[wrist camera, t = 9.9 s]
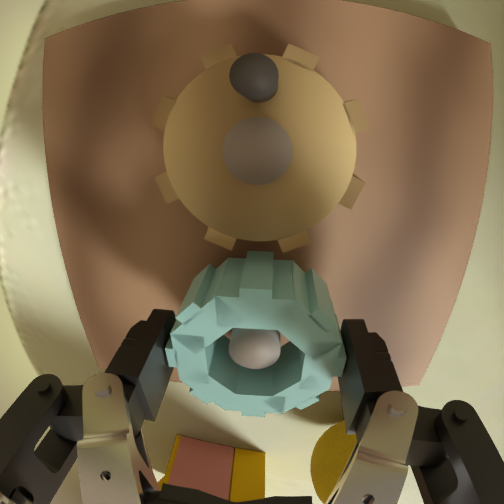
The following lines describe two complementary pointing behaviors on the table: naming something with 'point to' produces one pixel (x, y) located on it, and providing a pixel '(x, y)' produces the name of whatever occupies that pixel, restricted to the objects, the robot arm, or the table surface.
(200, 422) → the table surface
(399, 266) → the gear board
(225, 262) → the teal gear
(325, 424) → the table surface
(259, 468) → the alarm clock
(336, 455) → the lemon
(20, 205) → the table surface
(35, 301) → the table surface
